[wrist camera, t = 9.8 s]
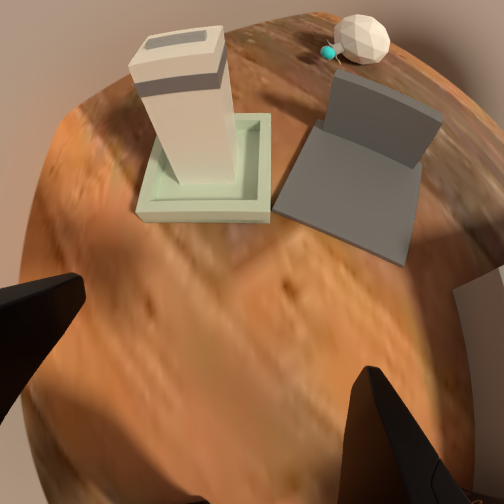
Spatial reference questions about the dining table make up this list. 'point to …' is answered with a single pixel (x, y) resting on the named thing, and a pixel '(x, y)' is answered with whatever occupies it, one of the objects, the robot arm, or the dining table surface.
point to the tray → (213, 195)
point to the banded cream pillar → (190, 102)
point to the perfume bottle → (358, 40)
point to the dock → (362, 168)
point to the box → (485, 374)
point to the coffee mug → (481, 498)
